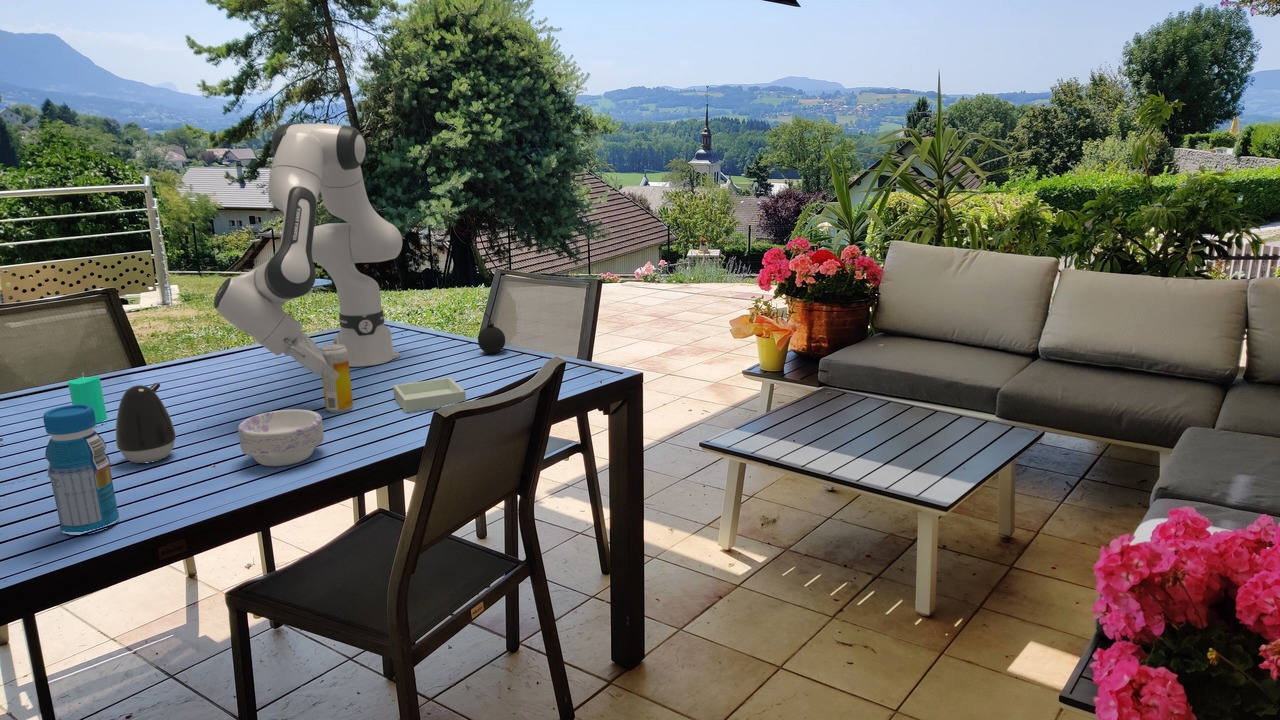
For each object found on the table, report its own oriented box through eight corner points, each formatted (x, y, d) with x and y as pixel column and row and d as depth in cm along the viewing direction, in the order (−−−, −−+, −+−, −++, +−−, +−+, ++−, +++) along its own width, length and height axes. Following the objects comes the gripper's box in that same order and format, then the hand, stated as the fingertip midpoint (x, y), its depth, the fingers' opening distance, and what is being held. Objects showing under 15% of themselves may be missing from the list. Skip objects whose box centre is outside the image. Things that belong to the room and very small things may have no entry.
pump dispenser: (191, 451, 173) (179, 379, 169) (152, 470, 163) (138, 394, 160) (148, 448, 175) (136, 377, 172) (107, 466, 166) (93, 392, 162)
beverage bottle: (69, 543, 134) (44, 422, 129) (53, 528, 139) (28, 411, 134) (128, 524, 140) (107, 408, 135) (110, 511, 145) (89, 399, 140)
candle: (114, 421, 194) (104, 370, 191) (90, 429, 188) (80, 377, 185) (94, 419, 195) (85, 368, 192) (70, 427, 190) (59, 375, 187)
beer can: (357, 405, 201) (351, 343, 198) (346, 413, 195) (339, 350, 192) (333, 405, 202) (326, 343, 198) (321, 413, 196) (313, 349, 192)
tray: (394, 397, 207) (393, 385, 206) (451, 389, 213) (450, 377, 212) (406, 413, 195) (404, 400, 194) (466, 404, 201) (465, 391, 200)
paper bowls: (323, 466, 163) (319, 427, 161) (237, 477, 159) (231, 437, 157) (328, 441, 177) (323, 404, 176) (249, 450, 173) (243, 412, 171)
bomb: (509, 350, 251) (507, 310, 248) (500, 357, 244) (498, 315, 241) (484, 349, 253) (481, 310, 250) (474, 356, 245) (471, 315, 242)
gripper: (297, 333, 181) (350, 371, 188) (289, 316, 199) (337, 352, 205) (277, 356, 180) (331, 394, 187) (270, 337, 198) (320, 372, 205)
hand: (334, 372), depth 196 cm, fingers open, 8 cm apart
